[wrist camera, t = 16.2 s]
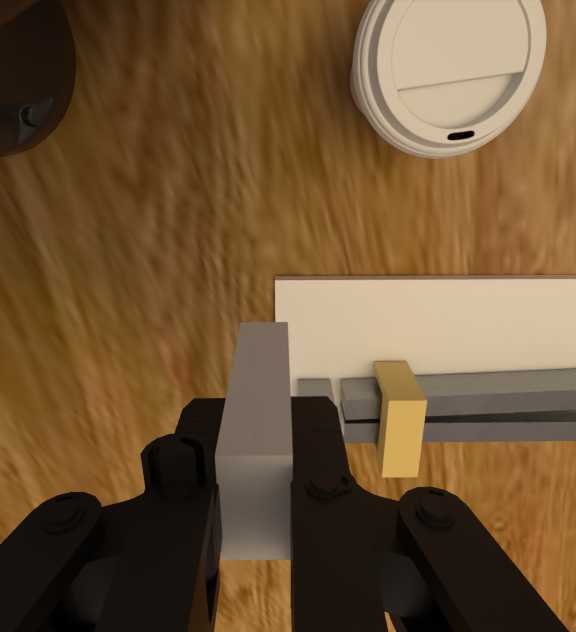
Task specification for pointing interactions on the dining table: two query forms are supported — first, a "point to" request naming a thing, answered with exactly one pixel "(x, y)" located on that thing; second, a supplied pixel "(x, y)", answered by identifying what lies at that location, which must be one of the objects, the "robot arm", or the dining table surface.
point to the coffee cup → (446, 70)
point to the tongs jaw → (471, 393)
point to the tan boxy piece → (399, 420)
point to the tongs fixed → (460, 423)
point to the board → (426, 324)
